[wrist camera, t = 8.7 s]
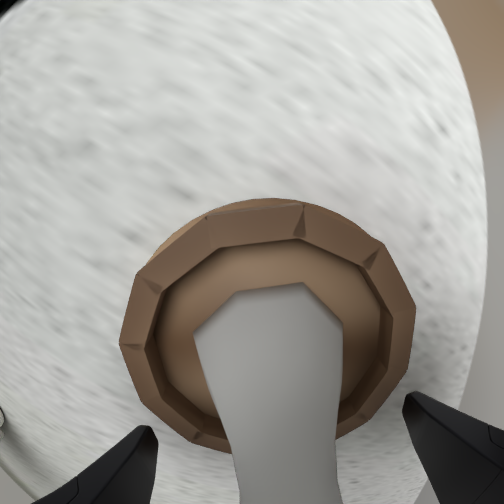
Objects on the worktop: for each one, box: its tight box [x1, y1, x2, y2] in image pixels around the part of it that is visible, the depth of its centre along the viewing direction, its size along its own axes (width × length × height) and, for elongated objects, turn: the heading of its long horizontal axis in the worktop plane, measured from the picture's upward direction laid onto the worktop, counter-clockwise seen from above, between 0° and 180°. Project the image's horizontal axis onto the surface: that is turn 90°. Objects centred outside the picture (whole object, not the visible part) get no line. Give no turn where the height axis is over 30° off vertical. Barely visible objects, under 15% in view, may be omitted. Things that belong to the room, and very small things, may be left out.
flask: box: [193, 282, 343, 504], centre depth 8 cm, size 7×7×10 cm
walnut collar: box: [119, 198, 416, 454], centre depth 13 cm, size 14×14×2 cm
